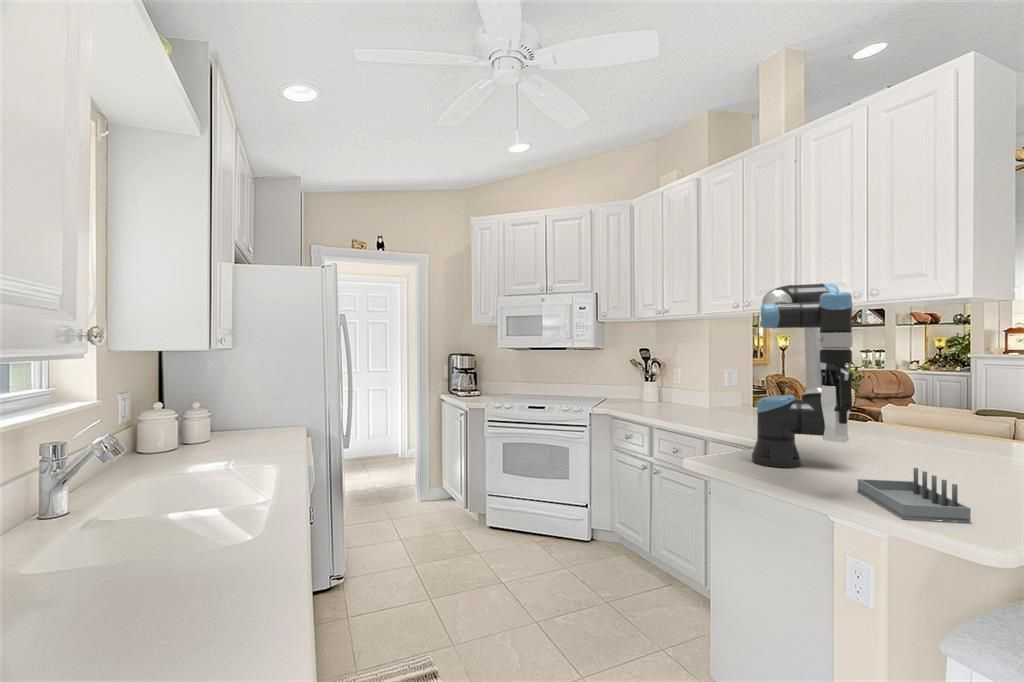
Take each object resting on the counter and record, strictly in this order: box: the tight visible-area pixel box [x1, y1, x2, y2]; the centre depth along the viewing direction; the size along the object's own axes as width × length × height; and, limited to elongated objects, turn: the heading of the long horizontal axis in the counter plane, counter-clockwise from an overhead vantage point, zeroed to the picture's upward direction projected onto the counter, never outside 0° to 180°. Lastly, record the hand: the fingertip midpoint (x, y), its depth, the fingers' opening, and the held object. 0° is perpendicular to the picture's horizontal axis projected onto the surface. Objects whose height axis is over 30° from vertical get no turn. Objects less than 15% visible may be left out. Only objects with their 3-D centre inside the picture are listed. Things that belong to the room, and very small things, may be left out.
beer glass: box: [821, 384, 851, 443], centre depth 142 cm, size 7×7×15 cm
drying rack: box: [857, 467, 971, 523], centre depth 133 cm, size 23×14×8 cm, turn 169°
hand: (835, 432), depth 142 cm, fingers closed on beer glass, 6 cm apart
